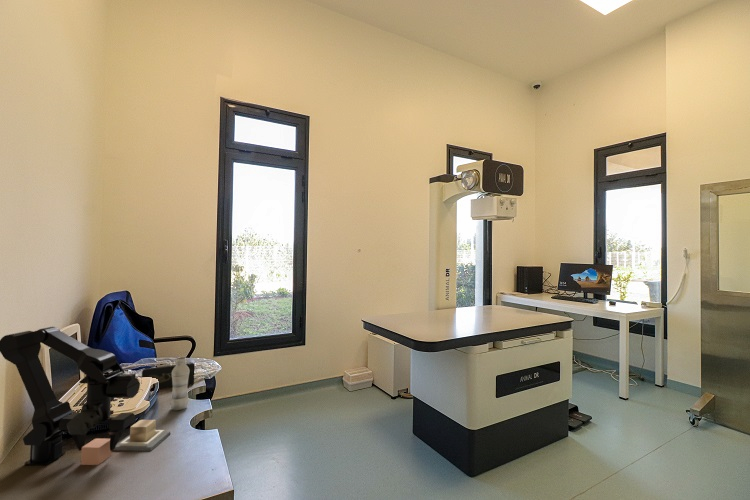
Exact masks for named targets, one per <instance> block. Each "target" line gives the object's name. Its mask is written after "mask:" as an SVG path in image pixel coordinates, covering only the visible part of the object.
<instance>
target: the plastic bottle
mask: <svg viewBox="0 0 750 500" xmlns="http://www.w3.org/2000/svg"><path fill="white" fill-rule="evenodd" d="M186 364H187V357H184V356H183V357H182V356H181V357H177V358H175V365H176V366H175V367H174V369H173V370H172V382H173V388H172V391H171V392H172V393H171V398H170V403H169V404H170V409H171V410H172V411H181V410H184V409H186V408H187V407H188V405H189V403H190V401H189V393H188V386H189V385H187V384H188V378H189V372H190V370H189V367H188V366H187V365H186Z"/></svg>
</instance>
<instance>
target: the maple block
mask: <svg viewBox="0 0 750 500" xmlns="http://www.w3.org/2000/svg"><path fill="white" fill-rule="evenodd" d="M156 422H157V420H156V419H139V420H138V421H137V422H134V423H133V424H131V425H130V428H129V435H130V442H147V441H149V440H150V439H151V438H152V437H153V436H155V430H157V428H156V425H157V423H156Z"/></svg>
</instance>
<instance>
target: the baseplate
mask: <svg viewBox="0 0 750 500" xmlns="http://www.w3.org/2000/svg"><path fill="white" fill-rule="evenodd" d="M170 435H171V431H168V430H167V431H165V430H164V429H155V436H153V437H152V438H151V439H150V440H149V441H147V442H130V434H129V435H127V436H126V437H125V438H123V439H121V440H119V441H118V443H117V445H116V447H115V449H114V450H113V451H141V452H142V451H149V452H150V451H153V450H154V449H155V448H157V446H158V445H160V444H161V443H162V442H164V441H165V439H167V438H168V437H169V436H170Z"/></svg>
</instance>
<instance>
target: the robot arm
mask: <svg viewBox="0 0 750 500" xmlns="http://www.w3.org/2000/svg"><path fill="white" fill-rule="evenodd" d="M42 344H43V345H45V346H46V347H49V348H50V349H51V350H54V351H55V352H57V353H59V354H61V355H62V356H64V357H66V358H67V359H69V360H71V361H73V362H74V363H76V365H77V368H78V370H79V371H80V372H82V374H84V375H85V376H84V377H83V378H82V379H81V380H79V383H80V384H86V386H87V387H86V402H85V403H82V406H81V410H80V412H77V411H75V412H74V410H72V408H71V404H70V402H69V400H68V401H67V400H66V401H64V402H61V401H60V400H58V399H57V396H56V394H55V392H54V390H53V388H52V386H51V383H50V381H49V378H48V376H47V374H46V371H45V368H44V367H43V365H42V363H41V359H40V358H39V357H40V356H39V355H40V352H41V348H42ZM0 354H1V355H2V357H3V359H4V360H6V361H8V362H10V363H12V364H13V365H15V367H16V370H17V371H18V374H19V376H20V378H21V381H22V383H23V385H24V388H25V390H26V392H27V394H28V395H27V396H28V397H29V399H30V402H31V404H32V406H33V409H34V410H33V415H32V419H31V424H32V429H31V430H30V431H29V432H28V433H27V434H25V435H24V436H23V438H22V442H23V444H24V446H30V450H29V452H30V453H29V460H27V461H25V462H24V466H47V465H49V464H50V463H52V462H53V461H56V459H58V458H60V457H61V456H63V455H64V454H66V451H65V450H63V440H62V439H63V438H62V437H63V435H62V434H63V433H67V434H68V435H70V436H71V437H72V439H73V441H74V443H75V445H76V447H77V450H78V451H79V452H82V447H83V446H85V445H86V444H85V443H86V439H87V438H86V437H87V433H88V432H89V431H90V430H91V429H96V427H97V426H99V425H107V428H108V429H109V430H108V431H107V434H109V435H110V436H109V437H110V438H109V439H110V451H115V450H114V449H115V447H116V445H117V444H118V443H119V442H120V439H121V437H122V434H123V433H124V431H125V430H126V428H127V427H129V426H132V425H133V424H135V423H136V414H135V413H133V412H121V413H119V414H117V415H116V416H112V415H114V410H112V409H111V404H112V403H111V402H113V401H115V399H133V398H135V397H136V396H137V394H138V393H139V391H140V389H141V382H140V380H139V378H138V377H136V376H137V375H136V373H129V374H127V373H125V370H124V369H123V367H122V366H121V365H120V363H119V361H118V360H117V356H116V354H114V353H112V352H110V351H106V350H103V349H99V348H98V349H97V348H93V347H90V346H87V344H84V343H83V342H81V341H79V340H77V339H75V338H74V337H71V336H70V335H68V334H66V333H65V332H63V331H61V330H60V328H58V327H56V326H49V327H43V328H39V329H37V330H35V331H32V330H25V331H20V332H15V333H10V334H6V335H3V336H2V337H1V338H0ZM108 372H109V373H108ZM105 373H106V374H105Z"/></svg>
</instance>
